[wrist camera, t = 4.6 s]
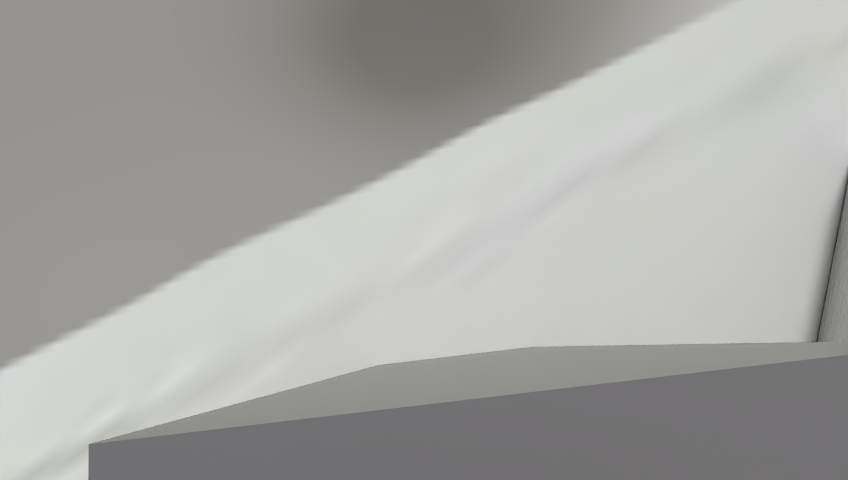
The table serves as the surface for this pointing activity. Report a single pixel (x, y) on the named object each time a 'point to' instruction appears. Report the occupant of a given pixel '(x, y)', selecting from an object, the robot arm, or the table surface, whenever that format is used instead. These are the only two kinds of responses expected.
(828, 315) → the socket plate
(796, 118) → the table surface
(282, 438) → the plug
